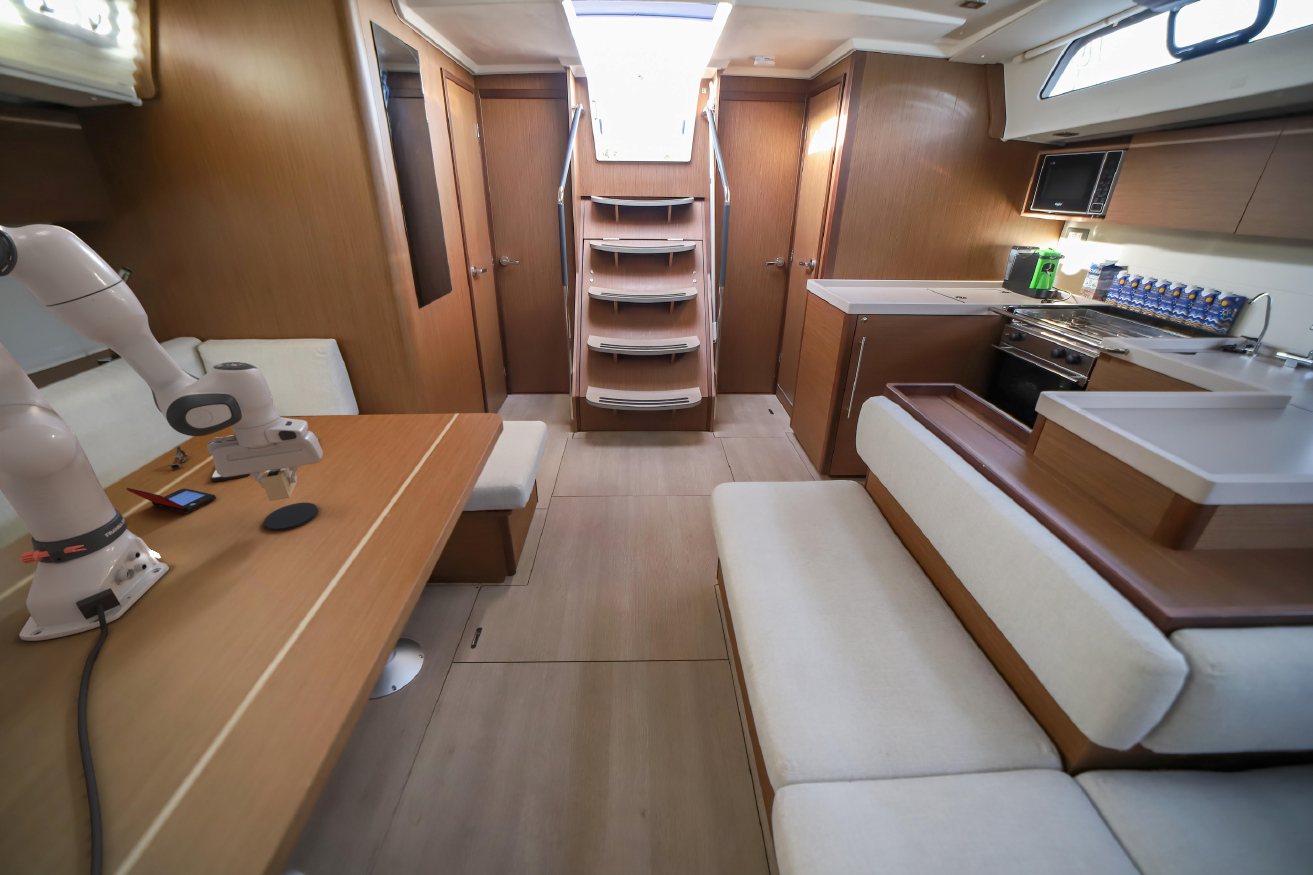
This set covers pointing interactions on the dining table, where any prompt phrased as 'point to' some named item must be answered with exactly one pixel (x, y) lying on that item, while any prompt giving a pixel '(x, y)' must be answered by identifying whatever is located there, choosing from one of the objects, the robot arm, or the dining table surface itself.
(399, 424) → the dining table surface
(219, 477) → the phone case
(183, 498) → the handheld console
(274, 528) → the mat
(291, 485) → the beige block
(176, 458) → the grey jointed piece
